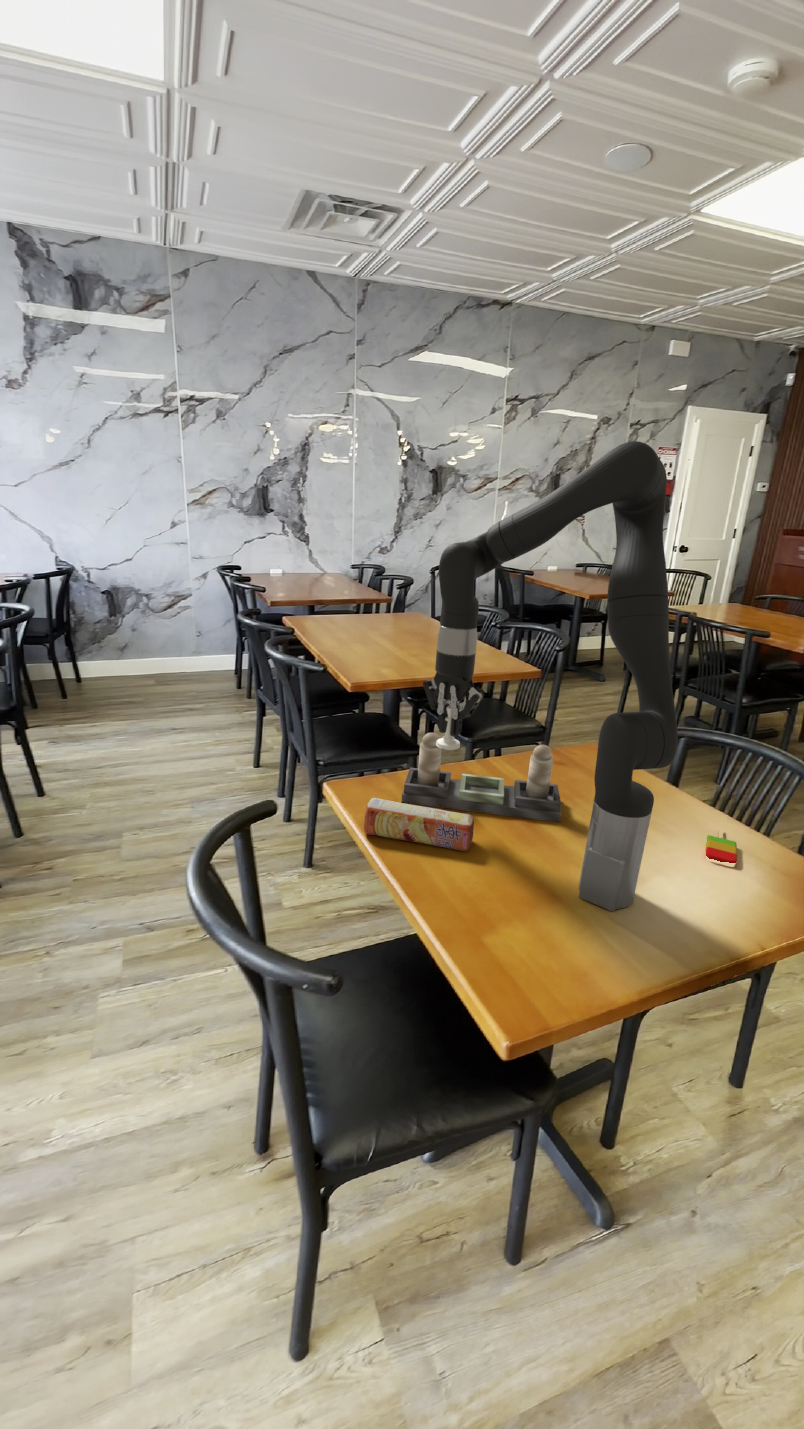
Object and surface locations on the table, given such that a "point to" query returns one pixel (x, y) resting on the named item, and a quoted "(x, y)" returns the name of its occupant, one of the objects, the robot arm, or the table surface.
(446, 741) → the chess piece
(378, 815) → the snack package
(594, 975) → the table surface
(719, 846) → the popsicle
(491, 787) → the grey peg holder
